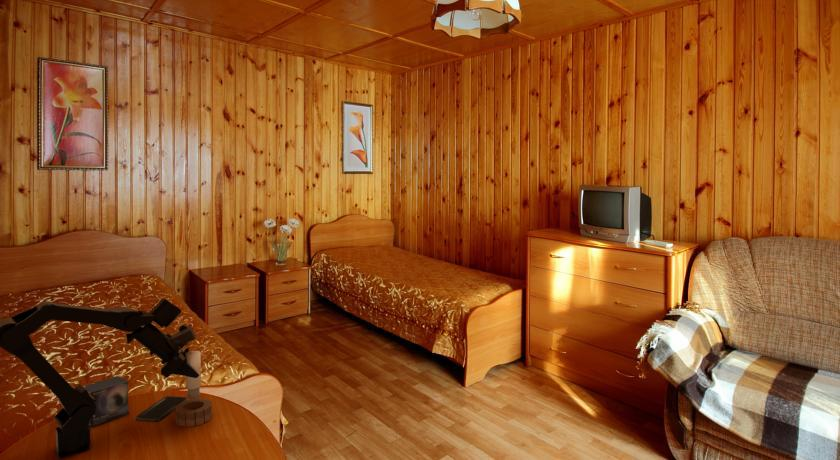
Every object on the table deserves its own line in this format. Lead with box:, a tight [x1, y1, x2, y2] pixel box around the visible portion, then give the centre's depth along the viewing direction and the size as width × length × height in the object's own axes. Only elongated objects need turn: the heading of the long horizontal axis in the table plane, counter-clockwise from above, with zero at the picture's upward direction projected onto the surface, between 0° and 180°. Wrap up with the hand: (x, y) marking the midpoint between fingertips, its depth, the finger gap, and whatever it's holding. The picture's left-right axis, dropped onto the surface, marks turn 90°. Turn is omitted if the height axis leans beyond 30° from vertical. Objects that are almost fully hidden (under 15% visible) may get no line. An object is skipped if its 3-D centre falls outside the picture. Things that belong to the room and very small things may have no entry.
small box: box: [82, 375, 130, 428], centre depth 142 cm, size 11×6×10 cm, turn 148°
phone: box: [135, 395, 188, 423], centre depth 148 cm, size 8×1×15 cm
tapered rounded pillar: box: [185, 350, 202, 400], centre depth 142 cm, size 4×4×13 cm
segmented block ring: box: [174, 397, 213, 428], centre depth 143 cm, size 10×10×4 cm
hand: (198, 373), depth 142 cm, fingers closed on tapered rounded pillar, 4 cm apart
